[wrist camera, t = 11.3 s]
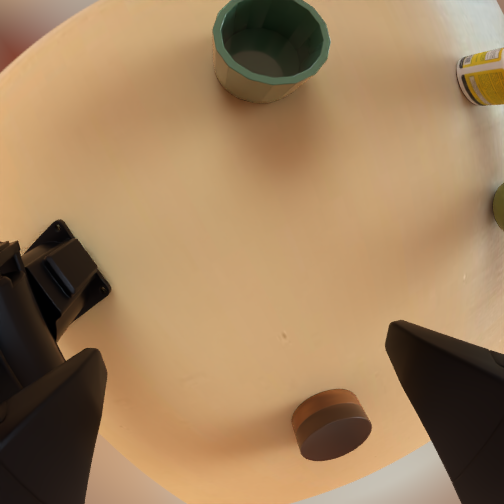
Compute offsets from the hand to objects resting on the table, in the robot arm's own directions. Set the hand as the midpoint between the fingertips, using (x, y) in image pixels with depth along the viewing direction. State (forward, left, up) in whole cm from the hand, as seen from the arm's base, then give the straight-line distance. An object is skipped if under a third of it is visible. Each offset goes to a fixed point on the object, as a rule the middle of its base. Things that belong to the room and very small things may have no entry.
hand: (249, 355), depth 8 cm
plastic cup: (+8, +9, -12) cm, 17 cm away
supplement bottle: (+26, +1, -12) cm, 29 cm away
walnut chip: (-2, -20, -10) cm, 22 cm away
